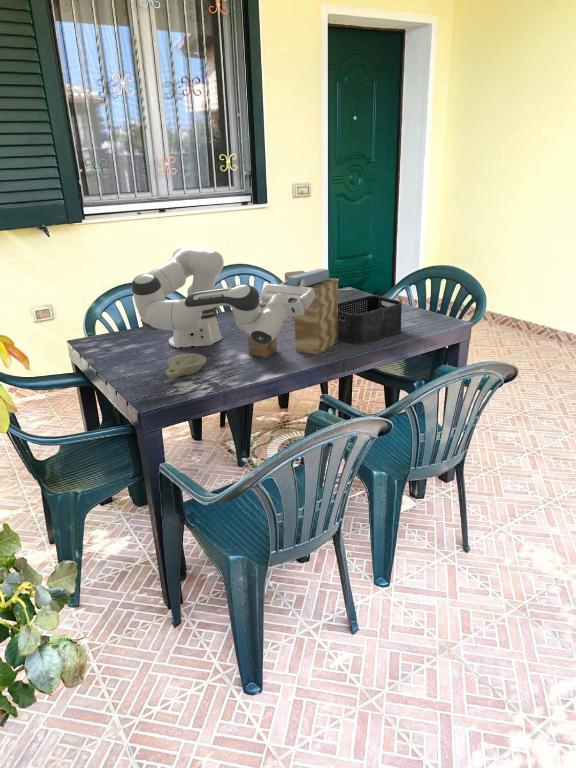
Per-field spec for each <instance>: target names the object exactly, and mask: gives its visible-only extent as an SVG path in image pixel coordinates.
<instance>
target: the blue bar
mask: <svg viewBox="0 0 576 768" xmlns="http://www.w3.org/2000/svg"><path fill="white" fill-rule="evenodd" d="M329 270H330V269H327V268H317V269H314V270H310V271H307V272H306V271H304V272H305V273H301V274H297V275H293V276H289V277H287V286H299V283H298V282H299V281H300V279H301V280H304V281H305V284H304V285H303V287H305V286H309V285H312V284H315V283H319V282H322V281H326V280H329V278H330V272H329Z"/></svg>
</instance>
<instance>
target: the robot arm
mask: <svg viewBox="0 0 576 768" xmlns="http://www.w3.org/2000/svg"><path fill="white" fill-rule="evenodd" d="M224 263H225V262H224V258H223V256H222V254H221V253H219V251H216V250H214V249H211V248H203V247H196V246H195V247H194V246H182V247H179V248H177V249H176V250H174V252H173V254H172V258H170V259H169V260H168V261H166V262H165V263H163V264H161V265H159V266H158V267H156V268H153V269H152V270H150V271H148V273H147V272H146V273H141V274H139V275H137V276H135V277H134V279H132V281H131V291H132V295H133V299H134V305H135V307H136V309H137V313H138V315H139V317H140V322H141V323H142V325H143V327H144V328H145V329H148V330H150V331H159V330H165V331H173V336H171V337H170V338H169V339H168V344H169V346H170V347H172V346H173V348H175V347H176V348H175V349H179V348H180V347H182V348H192V347H191V346H194V347H202V346H203V347H206V346H212V345H213V344H214V343H216V342H219V341H221V340H222V338H223V337H222V335H221V332H220V329H219V324H218V309H217V307H223V306H227V307H229V308H231V310H232V315H233V318H234V323H235V325H236V328H237V329H238V330H239V331H241V332H243V333H246V334H247V335H248V334H249V335H250V336H251V338H252V339H253V340H254V341H255V342H257V343H259V344H268V343H270V342H271V341H273V340H274V338H275V337H276V338H277V336H278V334H279V333H280V332H281V330H282V328H283V327H284V326H283V325H284V324H285V322H287V320H288V319H290V318H295V316H302V315H304V313H305V309H307V308H308V307H309V306H310V305H311V303H312V302H313V300H314V298H315V292H314V290H313V288H309V287H303V285H304V284H305V281H304V280H301V279H300V281H299V282H298V283H299V286H287V279H286V281H285V280H284V281H282V282H281V283H280V284H274V283H267V284H265V285H264V287H263V288H262V290H261V293H259V290H258V289H257V288H256V287H255V286H252V285H250V284H245V283H243V284H242V283H241V284H238V285H234V286H231V287H226V288H218V289H215V285H216V281H217V278H218V276H219V274H220V273H221V272H222V271H223V269H224V265H225V264H224ZM191 276H193V277H192V283H191V284H190V286H189V287H188V288H187V291H186V293H187V294H186V295H187V296H186V298H182V299H166V297H167V296H168V295H170V294H172V293H174V292H175V291H177V290H179V289H180V288H182V287H184V286H185V284H186V282H187V279H188V278H189V277H191ZM261 305H262V306H263V305H264V307H261ZM180 349H181V348H180Z"/></svg>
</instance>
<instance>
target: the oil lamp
mask: <svg viewBox="0 0 576 768" xmlns="http://www.w3.org/2000/svg"><path fill="white" fill-rule="evenodd" d="M166 362H167V365H168V368H167V369H166V370H165V375H166V376H167V377H168V378H169V379H176V378H178V377H183V376H184V375H185V376H191V374H192V375H194V373H195V374H197V373H198V372H199V371H200V370H201V368H202V367H203V366H204V365H205V364H206V362H207V358H206V356H205V355H202V354H199V353H183V354H176V355H173V356H171V357H169V358H168V359H167V360H166Z"/></svg>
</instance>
